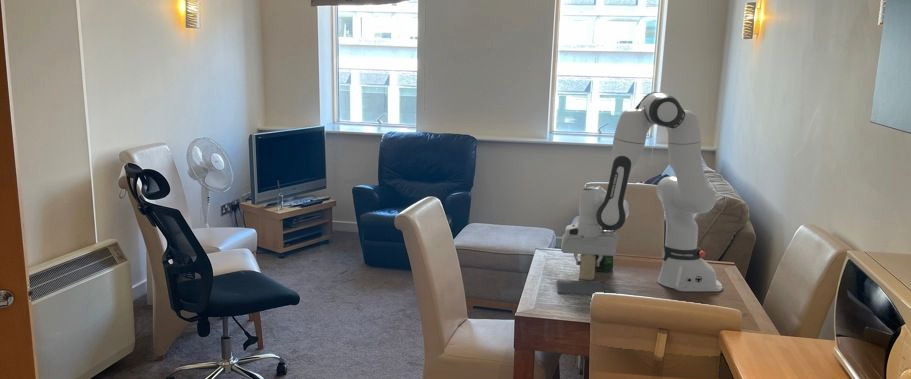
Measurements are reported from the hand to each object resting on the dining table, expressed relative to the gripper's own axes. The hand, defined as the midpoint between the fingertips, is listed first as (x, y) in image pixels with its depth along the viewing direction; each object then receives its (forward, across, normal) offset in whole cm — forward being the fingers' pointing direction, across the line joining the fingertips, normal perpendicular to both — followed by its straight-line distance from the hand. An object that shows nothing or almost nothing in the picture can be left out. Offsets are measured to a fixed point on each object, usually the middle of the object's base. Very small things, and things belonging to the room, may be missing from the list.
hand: (587, 265), depth 259 cm
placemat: (+5, +3, +13) cm, 14 cm away
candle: (+5, 0, 0) cm, 5 cm away
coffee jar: (+5, -6, -13) cm, 15 cm away
